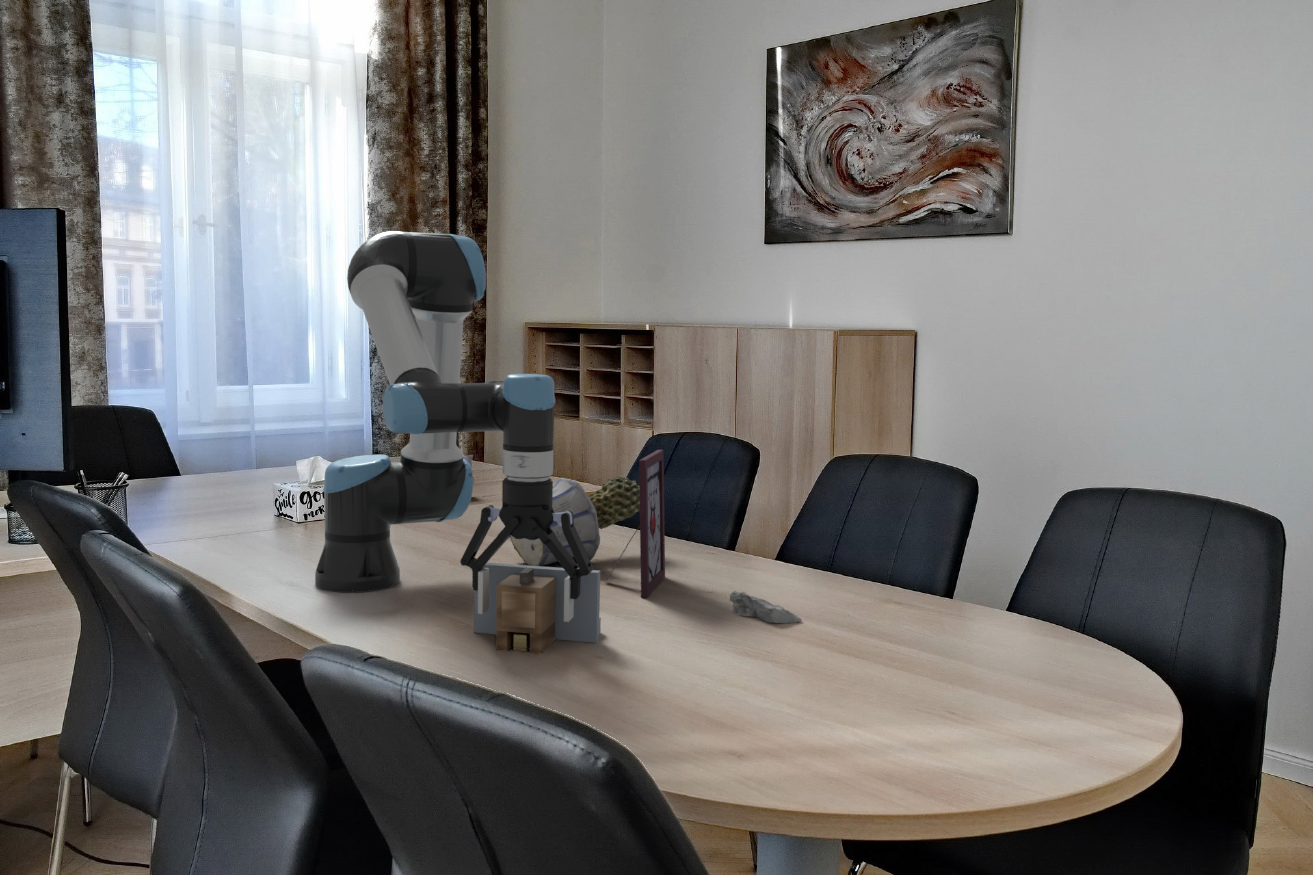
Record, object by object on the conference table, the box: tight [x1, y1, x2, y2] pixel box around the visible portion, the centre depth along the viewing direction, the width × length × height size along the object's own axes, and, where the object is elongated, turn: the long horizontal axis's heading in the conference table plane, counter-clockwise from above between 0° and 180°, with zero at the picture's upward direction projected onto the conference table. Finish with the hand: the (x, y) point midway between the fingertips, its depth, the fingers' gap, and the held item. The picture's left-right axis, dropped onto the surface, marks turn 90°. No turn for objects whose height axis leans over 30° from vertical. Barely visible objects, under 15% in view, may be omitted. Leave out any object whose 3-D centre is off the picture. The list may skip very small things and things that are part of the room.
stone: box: [729, 590, 802, 624], centre depth 182 cm, size 6×12×4 cm, turn 40°
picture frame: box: [605, 449, 666, 599], centre depth 200 cm, size 17×10×25 cm, turn 168°
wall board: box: [473, 562, 602, 644], centre depth 169 cm, size 20×6×11 cm, turn 78°
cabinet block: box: [495, 568, 556, 655], centre depth 162 cm, size 7×7×12 cm
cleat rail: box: [513, 632, 530, 652], centre depth 163 cm, size 2×7×2 cm, turn 168°
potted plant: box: [509, 476, 640, 567], centre depth 222 cm, size 18×18×30 cm
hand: (525, 615), depth 163 cm, fingers open, 13 cm apart
